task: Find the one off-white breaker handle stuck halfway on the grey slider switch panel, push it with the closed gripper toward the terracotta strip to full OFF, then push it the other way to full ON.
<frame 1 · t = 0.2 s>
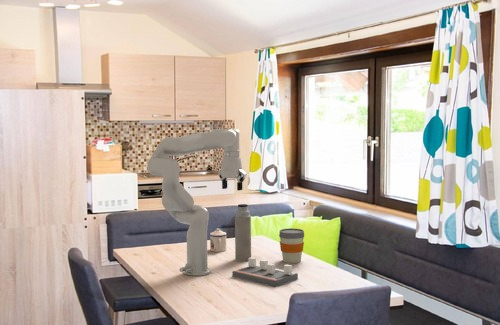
hand: (232, 189, 309), 36 cm above the table, tool pointing down, fingers open, 9 cm apart
tripped breaker handle: (270, 268, 282), point 5 cm above the table, slide at 0.0 cm
teacup with lid: (218, 251, 339), on the table
thermos bottle: (243, 259, 319), on the table
grey slider switch panel: (264, 277, 285), on the table
reusable coffee cup: (291, 260, 316), on the table
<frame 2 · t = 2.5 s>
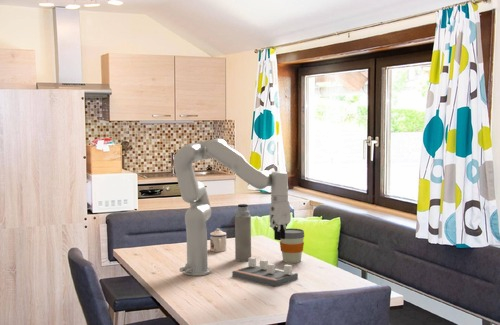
hand: (279, 238, 286), 17 cm above the table, tool pointing down, fingers closed
nothing on the table moved.
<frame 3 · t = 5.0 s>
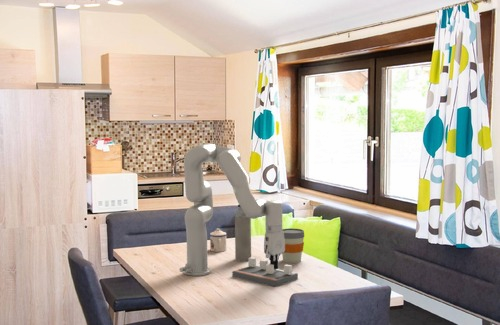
hand: (274, 268, 284), 4 cm above the table, tool pointing down, fingers closed
tripped breaker handle: (269, 268, 282), point 5 cm above the table, slide at -0.6 cm, touching gripper
everything else where it was.
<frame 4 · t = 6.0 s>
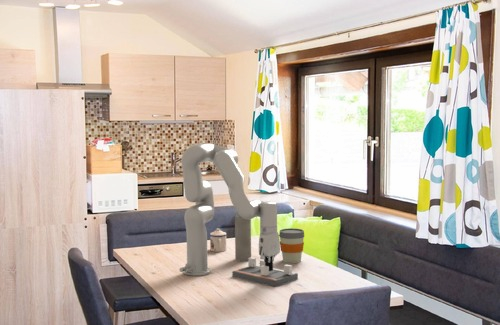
hand: (269, 270, 282), 4 cm above the table, tool pointing down, fingers closed
tripped breaker handle: (264, 270, 279), point 5 cm above the table, slide at -4.2 cm, touching gripper
everything else where it was.
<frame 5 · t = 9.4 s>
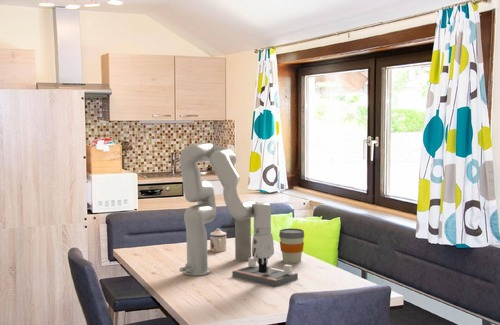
hand: (262, 272, 278), 4 cm above the table, tool pointing down, fingers closed
tripped breaker handle: (267, 269, 280), point 5 cm above the table, slide at -2.6 cm, touching gripper
everything else where it was.
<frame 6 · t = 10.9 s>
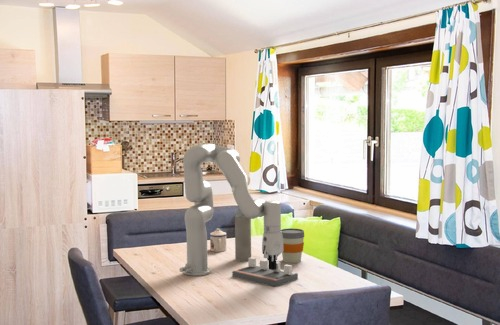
hand: (272, 269, 283), 4 cm above the table, tool pointing down, fingers closed
tripped breaker handle: (276, 266, 285), point 5 cm above the table, slide at 4.1 cm, touching gripper
everything else where it was.
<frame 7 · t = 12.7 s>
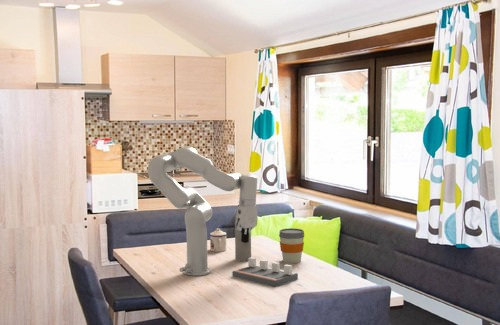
hand: (244, 242, 288), 16 cm above the table, tool pointing down, fingers closed
tripped breaker handle: (275, 267, 285), point 5 cm above the table, slide at 3.6 cm
everything else where it was.
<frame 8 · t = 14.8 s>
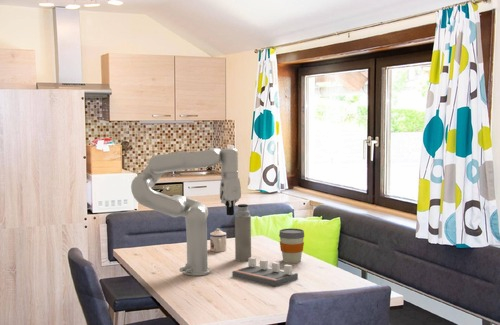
hand: (230, 214, 292), 27 cm above the table, tool pointing down, fingers closed
nothing on the table moved.
at the end: tripped breaker handle slide at 3.6 cm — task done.
